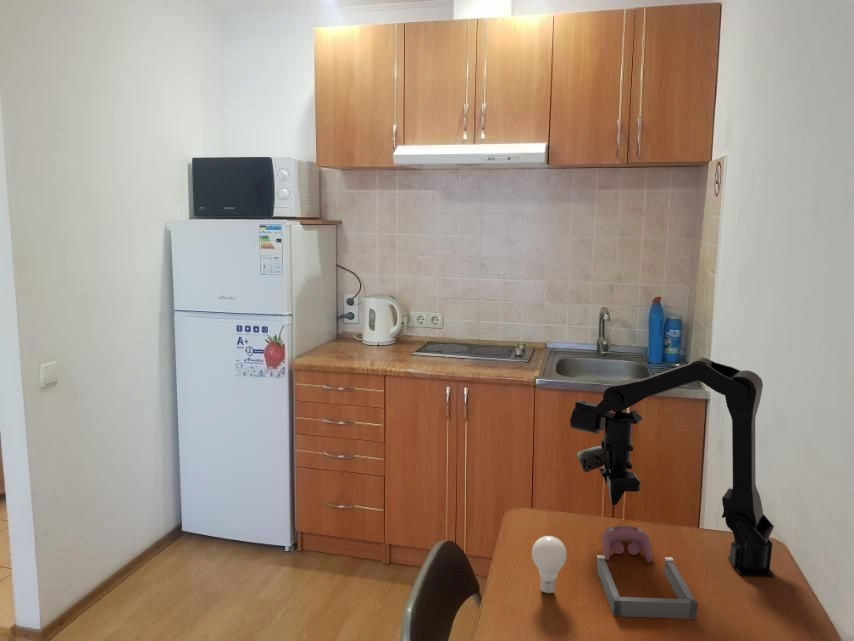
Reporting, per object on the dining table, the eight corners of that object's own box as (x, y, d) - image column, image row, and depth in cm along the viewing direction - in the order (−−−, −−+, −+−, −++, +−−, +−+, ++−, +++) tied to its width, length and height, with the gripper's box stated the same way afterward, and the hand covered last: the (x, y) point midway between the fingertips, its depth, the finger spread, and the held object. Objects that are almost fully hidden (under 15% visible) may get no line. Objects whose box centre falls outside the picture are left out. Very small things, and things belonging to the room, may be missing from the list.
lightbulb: (543, 578, 130) (545, 526, 128) (571, 592, 125) (574, 538, 123) (523, 591, 125) (525, 537, 124) (551, 606, 121) (554, 550, 119)
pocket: (670, 573, 132) (671, 557, 132) (696, 619, 118) (698, 601, 117) (596, 570, 133) (597, 555, 132) (613, 615, 118) (614, 598, 118)
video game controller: (648, 561, 139) (647, 526, 141) (654, 563, 135) (652, 527, 137) (600, 559, 140) (599, 524, 142) (604, 560, 136) (603, 524, 138)
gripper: (573, 423, 157) (570, 486, 160) (588, 453, 139) (585, 523, 141) (621, 424, 156) (618, 487, 159) (643, 454, 138) (638, 524, 141)
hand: (613, 504), depth 150 cm, fingers closed
